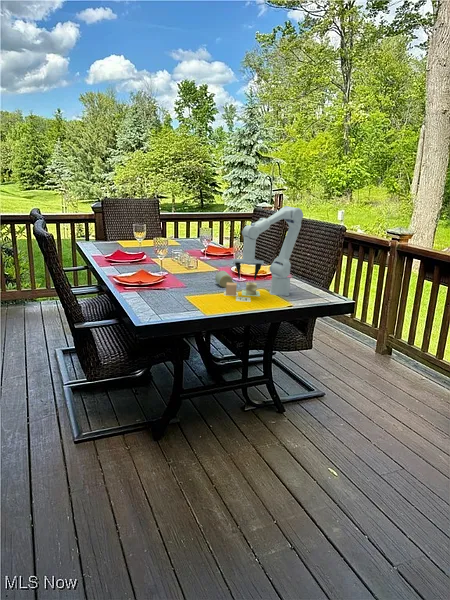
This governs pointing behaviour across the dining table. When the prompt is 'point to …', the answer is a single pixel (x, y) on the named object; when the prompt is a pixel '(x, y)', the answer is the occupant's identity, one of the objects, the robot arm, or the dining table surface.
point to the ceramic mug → (223, 278)
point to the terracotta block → (231, 288)
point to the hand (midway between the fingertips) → (247, 278)
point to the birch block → (251, 288)
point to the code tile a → (243, 299)
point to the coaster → (250, 295)
